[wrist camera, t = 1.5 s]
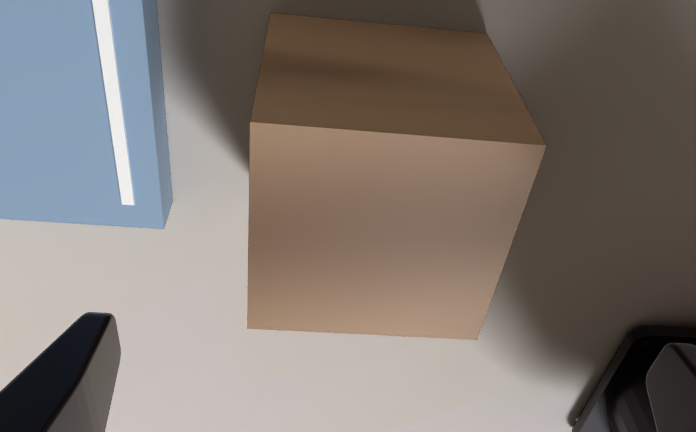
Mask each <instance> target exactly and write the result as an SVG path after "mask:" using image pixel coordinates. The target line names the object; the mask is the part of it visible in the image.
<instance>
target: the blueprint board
mask: <svg viewBox="0 0 696 432" xmlns="http://www.w3.org/2000/svg"><path fill="white" fill-rule="evenodd" d="M172 202H173V198H172V186H171V174H170V161H169V149H168V137H167V125H166V113H165V100H164V88H163V76H162V64H161V52H160V40H159V27H158V15H157V3H156V0H0V219H11V220H26V221H42V222H58V223H74V224H90V225H106V226H122V227H138V228H154V229H164V227H165V224H166V221H167V218H168V215H169V212H170V209H171V205H172Z"/></svg>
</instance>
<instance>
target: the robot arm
mask: <svg viewBox="0 0 696 432" xmlns="http://www.w3.org/2000/svg"><path fill="white" fill-rule="evenodd" d="M120 355H121V348H120V342H119V337H118V331H117V325H116V320H115V317H114V316H113V315H112V314H110V313H97V312H88V313H85V314H83V315H82V316H81V317H80V318H79V319H78V320H77V321H75V322H74V323H73V324H72V325H71V326H70V327H69V328H68V329H67V330H66V331H65V332H64V333H63V334H62V335H60V336H59V337H58V338H57V339H56V340H55V341H54V342H53V343H52V344H51V345H50V346H49V347H48V348H46V349H45V350H44V351H43V352H42V353H41V354H40V355H39V356H38V357H37V358H36V359H35V360H34V361H33V362H31V363H30V364H29V365H28V366H27V367H26V368H25V369H24V370H23V371H22V372H21V373H20V374H19V375H17V376H16V377H15V378H14V379H13V380H12V381H11V382H10V383H9V384H8V385H7V386H6V387H5V388H4V389H2V390H1V391H0V432H105V428H106V424H107V419H108V414H109V410H110V405H111V400H112V396H113V391H114V386H115V382H116V377H117V372H118V368H119V363H120ZM572 432H696V329H693V328H674V327H655V326H642V327H638V328H635V329H633V330H632V331H630V332H629V333H628V334H627V336H626V337H625V339H624V341H623V343H622V344H621V346H620V348H619V349H618V351H617V353H616V355H615V356H614V358H613V360H612V361H611V363H610V365H609V367H608V368H607V370H606V372H605V374H604V375H603V377H602V379H601V380H600V382H599V384H598V386H597V387H596V389H595V391H594V392H593V394H592V396H591V398H590V399H589V401H588V403H587V405H586V406H585V408H584V410H583V411H582V413H581V415H580V417H579V418H578V420H577V422H576V423H575V425H574V427H573V429H572Z"/></svg>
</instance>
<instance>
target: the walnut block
mask: <svg viewBox="0 0 696 432" xmlns="http://www.w3.org/2000/svg"><path fill="white" fill-rule="evenodd" d="M546 147H547V145H546V143H545V141H544V139H543V138H542V136H541V134H540V132H539V130H538V128H537V126H536V124H535V123H534V121H533V119H532V117H531V115H530V113H529V111H528V109H527V108H526V106H525V104H524V102H523V100H522V98H521V96H520V94H519V93H518V91H517V89H516V87H515V85H514V83H513V81H512V79H511V78H510V76H509V74H508V72H507V70H506V68H505V66H504V64H503V63H502V61H501V59H500V57H499V55H498V53H497V51H496V49H495V48H494V46H493V44H492V42H491V40H490V38H489V36H488V34H487V33H477V32H467V31H456V30H446V29H435V28H425V27H414V26H404V25H393V24H383V23H373V22H362V21H352V20H341V19H331V18H320V17H310V16H299V15H289V14H278V13H270V18H269V24H268V29H267V34H266V40H265V45H264V50H263V55H262V61H261V66H260V71H259V77H258V82H257V87H256V93H255V98H254V103H253V109H252V114H251V119H250V158H249V236H248V313H247V329H268V330H288V331H308V332H328V333H348V334H368V335H388V336H408V337H429V338H449V339H469V340H477V339H478V336H479V333H480V331H481V328H482V325H483V322H484V319H485V317H486V314H487V311H488V308H489V305H490V303H491V300H492V297H493V294H494V292H495V289H496V286H497V283H498V280H499V278H500V275H501V272H502V269H503V266H504V264H505V261H506V258H507V255H508V253H509V250H510V247H511V244H512V241H513V239H514V236H515V233H516V230H517V227H518V225H519V222H520V219H521V216H522V213H523V211H524V208H525V205H526V202H527V200H528V197H529V194H530V191H531V188H532V186H533V183H534V180H535V177H536V174H537V172H538V169H539V166H540V163H541V161H542V158H543V155H544V152H545V149H546Z"/></svg>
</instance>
